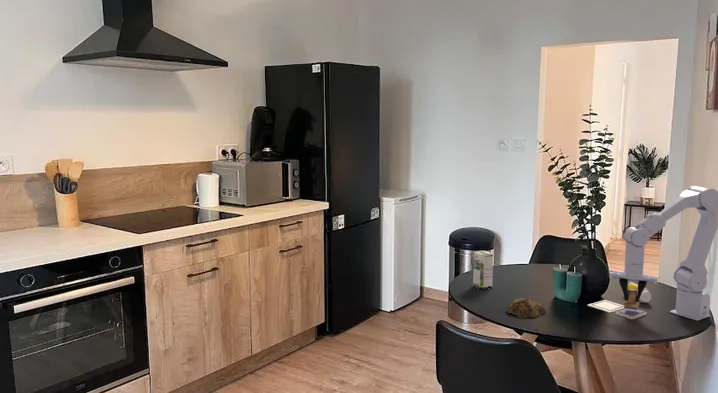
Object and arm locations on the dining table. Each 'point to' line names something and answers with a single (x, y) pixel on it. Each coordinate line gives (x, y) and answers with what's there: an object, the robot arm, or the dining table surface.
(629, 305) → the stamp
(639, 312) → the ink pad
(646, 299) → the supplement bottle
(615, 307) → the print sheet
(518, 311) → the brown speckled mound
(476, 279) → the syrup box
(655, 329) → the dining table surface
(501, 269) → the dining table surface
